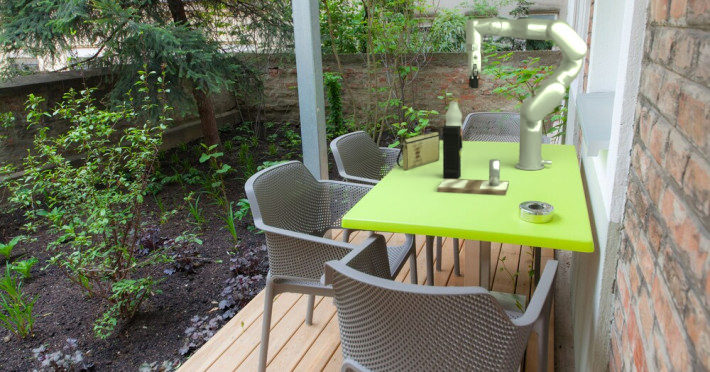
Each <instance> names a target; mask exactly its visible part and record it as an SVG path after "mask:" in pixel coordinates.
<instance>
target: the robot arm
mask: <svg viewBox="0 0 710 372" xmlns="http://www.w3.org/2000/svg"><path fill="white" fill-rule="evenodd" d="M484 36H489V37H502V38H516V39H521V40H522V39H523V40H536V41H537V40H539V41H553V42H554V43H555V45H556V46H557V47H558V48H559V49H560V50H561V55H562V61H561V64H559V66H558V68H557V69H556V70H555V71H554V72H553V73H552V74H551V75H550V76H549V77H548V78H547V79H546V80H545V81H544V82H543V83H541V85H540V87H539V90H538V92H537V93H536V94H535V95H534V96H533V97H528V98H527V99H524V101H523V102H522V103H521V104H520V108H519V109H520V110H519V121H520V122H519V123H520V124H519V146H518V147H519V151H518V162H517V163H515V165H514V166H515V169H518V170H524V171H538V170H543V169H544V168H545V165H549V166H550V165H552V159H551V160H550V159H543V158H542V145H543V144H542V143H543V141H542V140H543V119H544V118H546V117H547V116H548V115H549V114H550V113H551V112H552V111H553V110H554V109H555V108H556V107H557V106H558V105H559V104H560V103H561V102H562V100H563V99H564V98H565V95H566V92H567V91H566V89H567V88H569V86H570V85H571V84H572V83H573V82H574V81H575V80H576V78H577V77H578V76H579V75H580V73H581V70H582V67H583V64H584V58H585V56H586V55H587V54H588V46H587V43H586V42H585V40H583V39H582V37H581V36H580V35H579V34H578V33H577V32H576V31H575V30H574V28H573V27H572V26H571V25H570V23H569V22H568V21H566V20H565V19H562V18H559V19H557V18H556V19H550V18H549V19H547V18H546V19H545V18H533V17H532V18H530V17H527V18H526V17H525V18H517V19H503V18H498V17H492V16H491V17H488V18H471V19H468V20H466V24H465V52H466V53H468V58H467V60H468V61H467V65H468V67H467V68H468V74H469V77H468V87H469V88H470V89H479V81H480V79H479V75H481V74H482V53H481V52H483V51H484Z"/></svg>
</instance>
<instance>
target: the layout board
mask: <svg viewBox="0 0 710 372" xmlns="http://www.w3.org/2000/svg"><path fill="white" fill-rule="evenodd" d="M509 183H510V181H509V180H499V186H489V179H470V178H469V179H467V178H466V179H465V178H458V179H446V178H445V179H444V178H443V180H442V181H441V183H440V184H439V185H438V186H437V193H448V194H449V193H450V194H453V193H454V194H471V195H493V196H507V192H508V188H509Z"/></svg>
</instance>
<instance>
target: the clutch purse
mask: <svg viewBox="0 0 710 372" xmlns="http://www.w3.org/2000/svg"><path fill="white" fill-rule="evenodd" d="M440 136H441V135H440V132H439V131H435V132H431V133H426V134H422V135H418V136H413V137H410V138H404V139H402V141H401V143H400V145H401V146H400V149H399V152H398V155H397V158H396V165H397V166H398V167H399V168H402V169H403V170H404V171H408V170H411V169H414V168H417V167H421V166H424V165H427V164H431V163H434V162H439V160H440ZM401 155H402V166H401V164H400V158H401Z"/></svg>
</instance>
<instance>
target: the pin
mask: <svg viewBox="0 0 710 372" xmlns="http://www.w3.org/2000/svg"><path fill="white" fill-rule="evenodd" d="M488 161H489V166H488V169H489V171H488V180H489V186H499V181H501V180H500V176H501V175H500V172H501V171H500V170H501V168H500V167H501V159H498V158H495V159H493V158H492V159H489V160H488Z"/></svg>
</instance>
